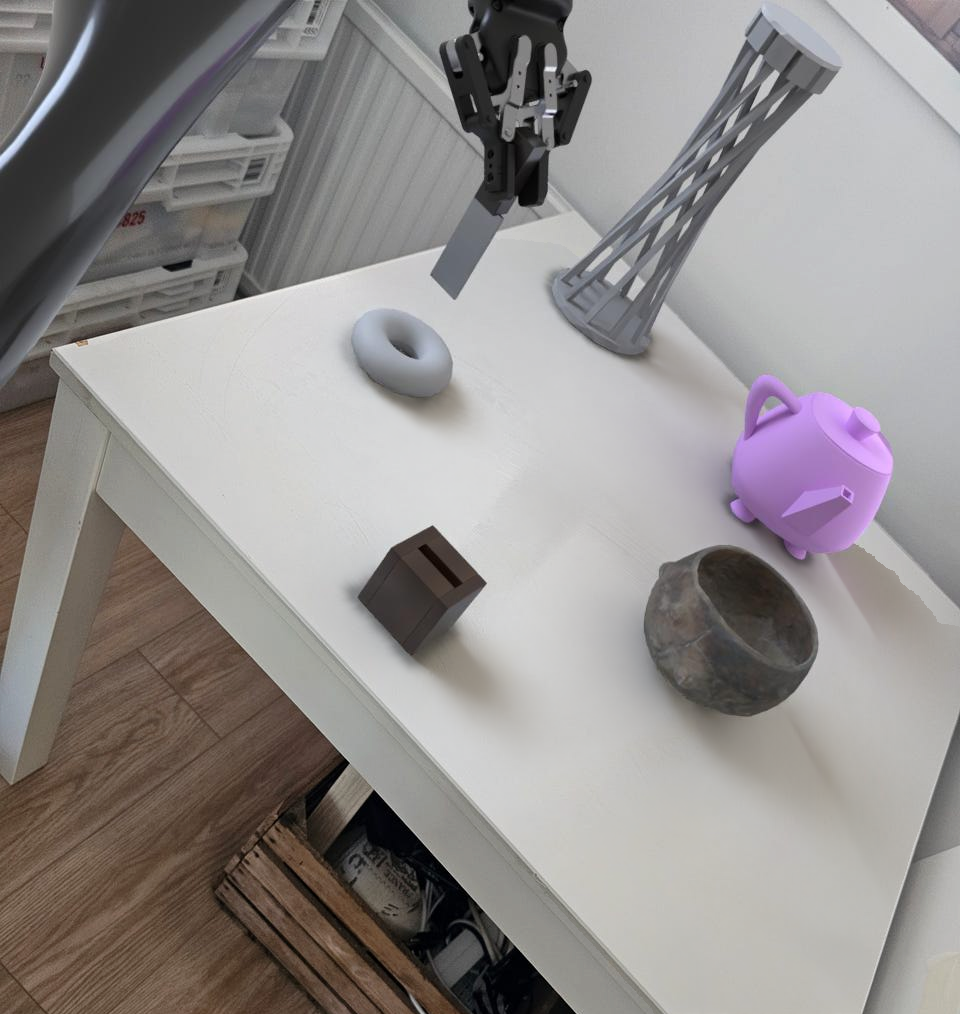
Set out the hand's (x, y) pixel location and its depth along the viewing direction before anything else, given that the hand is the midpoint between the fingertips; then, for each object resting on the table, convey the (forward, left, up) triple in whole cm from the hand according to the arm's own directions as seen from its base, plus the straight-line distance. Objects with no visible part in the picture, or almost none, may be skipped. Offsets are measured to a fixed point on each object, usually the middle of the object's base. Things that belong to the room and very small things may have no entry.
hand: (516, 202), depth 77 cm
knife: (-1, +2, -10) cm, 10 cm away
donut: (+2, +6, -22) cm, 23 cm away
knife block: (-4, -23, -22) cm, 32 cm away
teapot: (+45, -4, -22) cm, 50 cm away
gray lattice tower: (+34, +25, -22) cm, 48 cm away
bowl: (+24, -26, -22) cm, 42 cm away
